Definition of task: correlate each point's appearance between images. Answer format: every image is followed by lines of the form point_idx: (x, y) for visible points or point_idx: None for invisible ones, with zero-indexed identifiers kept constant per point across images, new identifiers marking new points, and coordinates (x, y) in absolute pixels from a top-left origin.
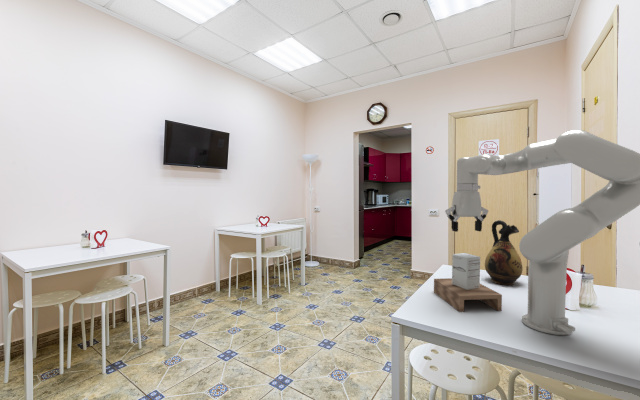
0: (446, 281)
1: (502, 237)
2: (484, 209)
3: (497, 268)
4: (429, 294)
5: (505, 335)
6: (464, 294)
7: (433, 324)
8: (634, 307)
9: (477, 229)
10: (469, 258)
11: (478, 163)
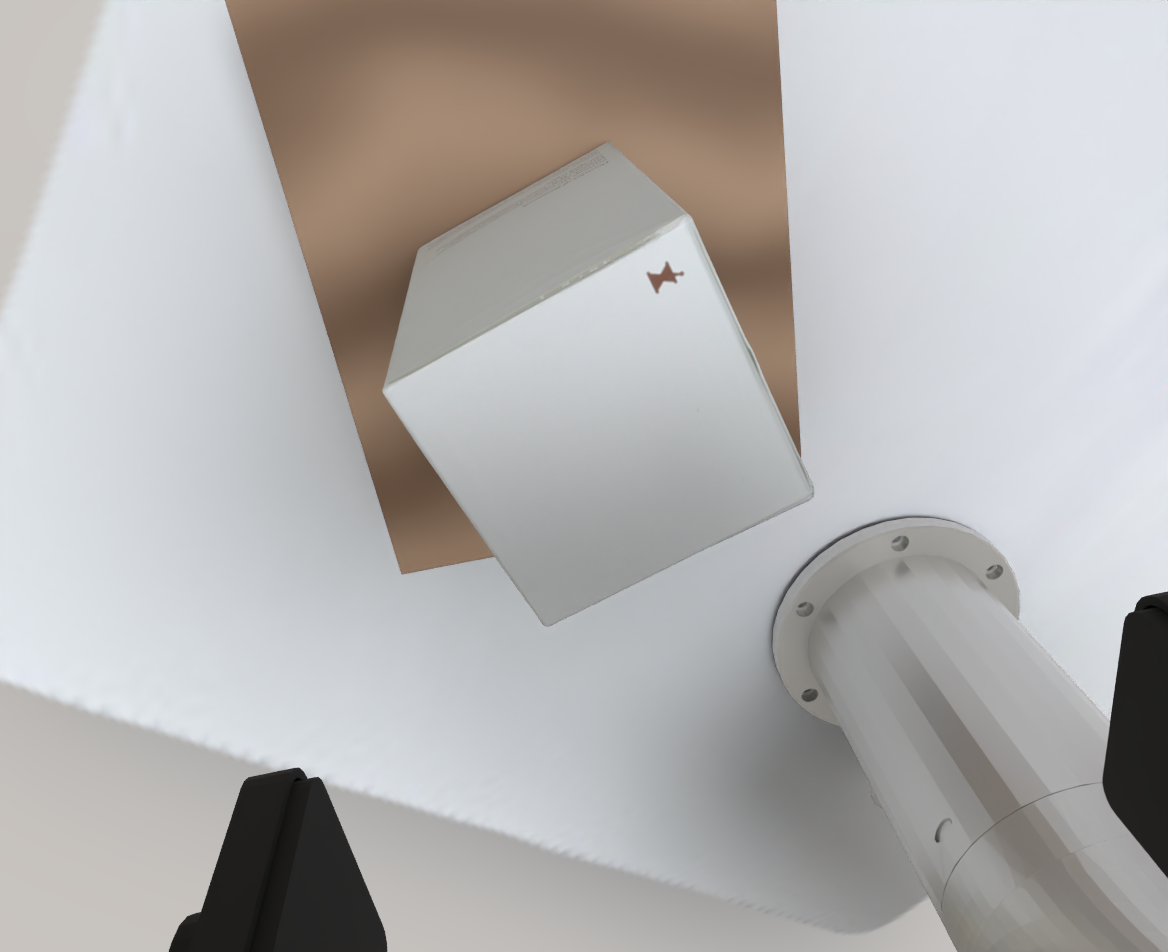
0: (381, 121)
1: None
2: None
3: None
4: (205, 91)
5: (573, 755)
6: (454, 539)
7: (172, 707)
8: None
9: (1138, 750)
10: (587, 603)
11: None
